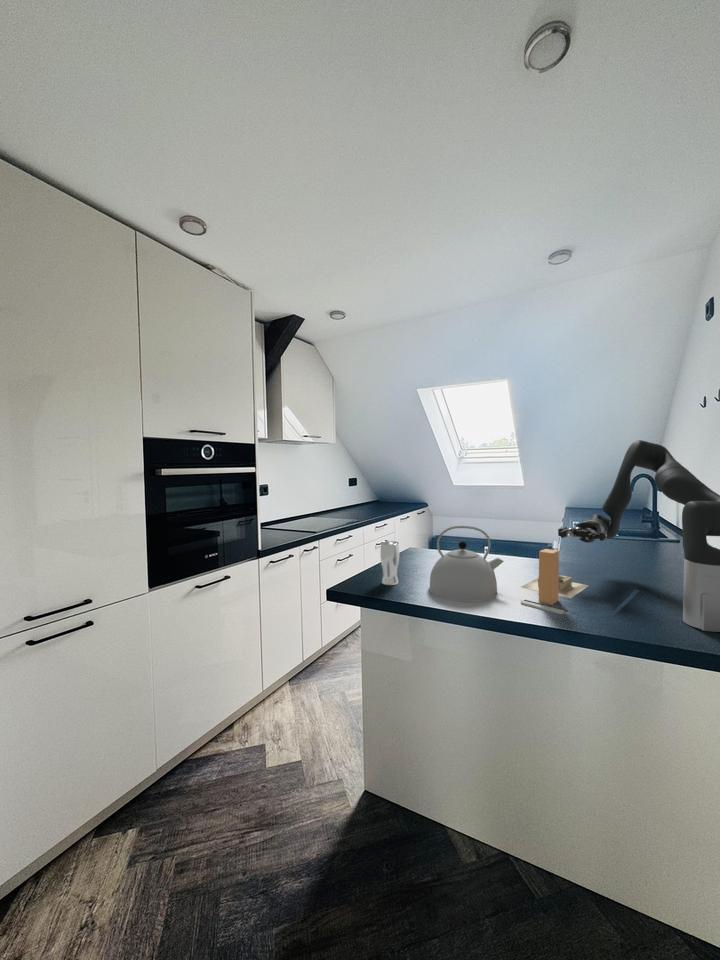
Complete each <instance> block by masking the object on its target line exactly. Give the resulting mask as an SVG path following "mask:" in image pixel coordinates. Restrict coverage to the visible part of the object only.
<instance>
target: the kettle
mask: <svg viewBox="0 0 720 960" xmlns="http://www.w3.org/2000/svg"><path fill="white" fill-rule="evenodd" d="M453 529H454V530H455V529H467V530H468V529H471V530H475V531H478V532H480V533H482V534H483V535H485V538H486V539H487V546H488V547H487V550H486V552H485V554H484V556H483V557H482V556H481V555H479V554H478V553H476V552H475V551H472V550H468V549H466V548H467V543H466V542H465V541H463V540H461V541H460V542H459V543H458V548H459V549H453V550H451V551H448V552H447V553H445V554H443V552H442V551H441V549H440V540H441V538H442V536H443V535H444V534H446V533H447V532H448V531H450V530H453ZM491 546H492V544H491V539H490V536H489V535H488V533H486V532H485V531H484V530H483V529H481V528H479V527H476V526H469V525H453V526H450V527H448V528H445V529H444V530H442V532H441V533H440V534H439V536H438V537H437V541H436V549H437V552H438V553H439V554H440V555H439V556H441V557H440V558H438V559H437V560H436V562H435V563H434V565H433V567H432V569H431V572H430V576H429V591H430V592H431V594H433V595H435V596H438V597H439V598H442V599H446V600H448V601H449V600H450V601H455V602H463V603H464V602H465V603H466V602H468V603H469V602H470V603H472V602H473V603H475V602H484V601H485V602H486V601H490V600H492V599H495V598H496V597H497V596H498V584H497V577H496V574H495V571H494V570H495V569H496V568H498V567H499V566H500V565H501V564H502V563H504V560H503V559H501V558H499V557H497V558H494V559H492V560H490V561H487V557H488V555H489V553H490V550H491V549H492V547H491Z"/></svg>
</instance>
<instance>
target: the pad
mask: <svg viewBox="0 0 720 960" xmlns="http://www.w3.org/2000/svg"><path fill="white" fill-rule="evenodd" d="M520 604H521V605H524V606H528V607H532V608H536V609H538V610H541V611H542V610H543V611H546V612H549V613H553V614H554V613H555V614H558V615H561V616H562V615H564V614H565V613H566V612H568V610H567V609H563V608H560V607H556V606H553V605H549V604H545V603H541V602H536V601H532V600H527V599H524V600H522V601H520Z"/></svg>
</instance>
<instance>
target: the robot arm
mask: <svg viewBox="0 0 720 960" xmlns="http://www.w3.org/2000/svg"><path fill="white" fill-rule="evenodd" d="M635 467H637V468H641V469H647V470H651V471H652V472H654V473H655V475H654V478H653V481H654V484H655V486H656V487H657V488H658V490H660V491H661V493H662V494H663V495H665V497H667V498H668V499H670V500H671V501H673V502H676V503H678V504H682V505H684V506H683V508H682V513H681V526H682V527H681V529H682V530H681V531H682V548H683V555H684V558H683V586H682V587H683V588H682V589H683V590H682V591H683V595H682V621H683V622H684V623H685V624H686V625H687V626H691V627H693V628H697V629H699V630H701V631H703V632H715V633H717V632H718V633H720V548H717V547H714V546H713V545H710V544H709V542H708V539H707V537H720V494H718V493H717V492H715V491H714V490H712V489H711V488H709V486H707V485H706V484H705V483H704V482H702V481H701V480H699V479H698V478H697V476H695V475H694V473H692V472H691V471H690V470H689V469H687V468H686V467H685V466H683V465H682V463H680V462H679V461H677V460H676V459H675V457H674V456H673V455H672V454H671V453H670V451H669V450H668V449H667V447H665V446H663V445H661V444H658V443H653V442H649V441H646V440H641V439H640V440H639V439H637V440H635V441H633V442H632V443H631V444H630V445H629V447H628V449H626V451H625V455H624V457H623V460H622V462H621V465H620V468H619V469H618V470H619V471H618V473H617V475H616V479H615V481H614V484H613V487H612V489H611V490H610V493H609V494H608V496H607V498H606V499H605V501H604V503H603V505H602V506H601V507H602V508H601V509H602V511H603V512H604V513H605V514H606V515H607V516H608V517H609V518H608V517H606V516H604V515H601V514H599V513H595V514H593V515H591V517H590V518H589V519H588V520H585V521H582V522H581V521H580V522H579V523H578V524H577V525H576V526H575V527H567V526H564V527H560V528H558V529H557V536H558V537H560V538H562V539H564V538H571V539H578V540H579V541H581V542H583V543H593V542H596V541H597V540H599V541H606V539H613V538H615V537H616V536H617V535H618V533H619V531H620V525H621V520H622V517H623V514H624V513H625V511H626V509H627V507H628V506H629V504H630V502H631V499H632V495H633V492H632V483H631V476H632V472H633V470H634V468H635Z"/></svg>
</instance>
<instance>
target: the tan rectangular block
mask: <svg viewBox="0 0 720 960" xmlns="http://www.w3.org/2000/svg"><path fill="white" fill-rule="evenodd" d="M559 572H560V550H556V549H549V548H544V549H542V550H539V551H538V578H539V591H538V603H542V604H546V605H550V606H553V605H554V604H555V603H557V602H559V598H560V596H559V575H560V573H559Z"/></svg>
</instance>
